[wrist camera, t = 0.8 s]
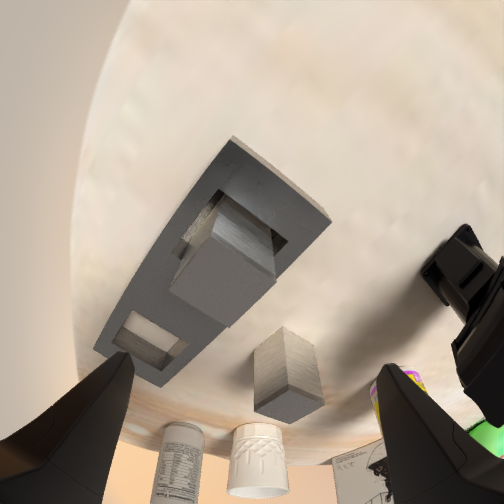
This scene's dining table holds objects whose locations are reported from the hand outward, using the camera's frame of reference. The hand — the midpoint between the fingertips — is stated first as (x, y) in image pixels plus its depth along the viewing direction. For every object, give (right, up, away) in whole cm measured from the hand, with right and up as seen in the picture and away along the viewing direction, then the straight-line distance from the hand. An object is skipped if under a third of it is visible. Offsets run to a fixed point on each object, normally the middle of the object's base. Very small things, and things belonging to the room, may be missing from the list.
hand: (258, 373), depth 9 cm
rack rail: (-5, +1, +14) cm, 15 cm away
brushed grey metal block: (+3, -5, +17) cm, 18 cm away
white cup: (+1, -21, +26) cm, 34 cm away
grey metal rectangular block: (-2, +6, +12) cm, 13 cm away
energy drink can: (-10, -22, +27) cm, 36 cm away
